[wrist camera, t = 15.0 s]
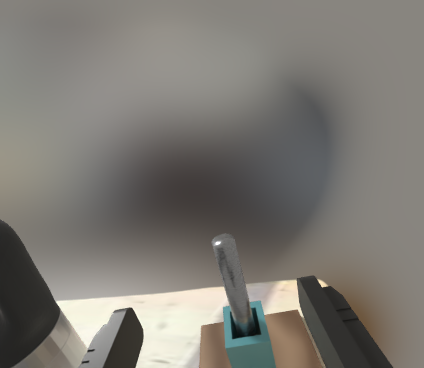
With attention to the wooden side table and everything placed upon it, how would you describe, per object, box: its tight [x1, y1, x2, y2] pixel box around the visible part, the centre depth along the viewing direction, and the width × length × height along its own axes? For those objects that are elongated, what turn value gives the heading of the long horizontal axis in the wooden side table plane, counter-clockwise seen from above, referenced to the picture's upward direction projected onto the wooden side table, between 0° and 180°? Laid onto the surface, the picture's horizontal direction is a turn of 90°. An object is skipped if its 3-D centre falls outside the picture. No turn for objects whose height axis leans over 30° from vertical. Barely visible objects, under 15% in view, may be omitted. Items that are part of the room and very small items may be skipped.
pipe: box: [212, 234, 257, 338], centre depth 26 cm, size 3×3×24 cm
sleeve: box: [223, 301, 276, 368], centre depth 27 cm, size 5×5×8 cm
